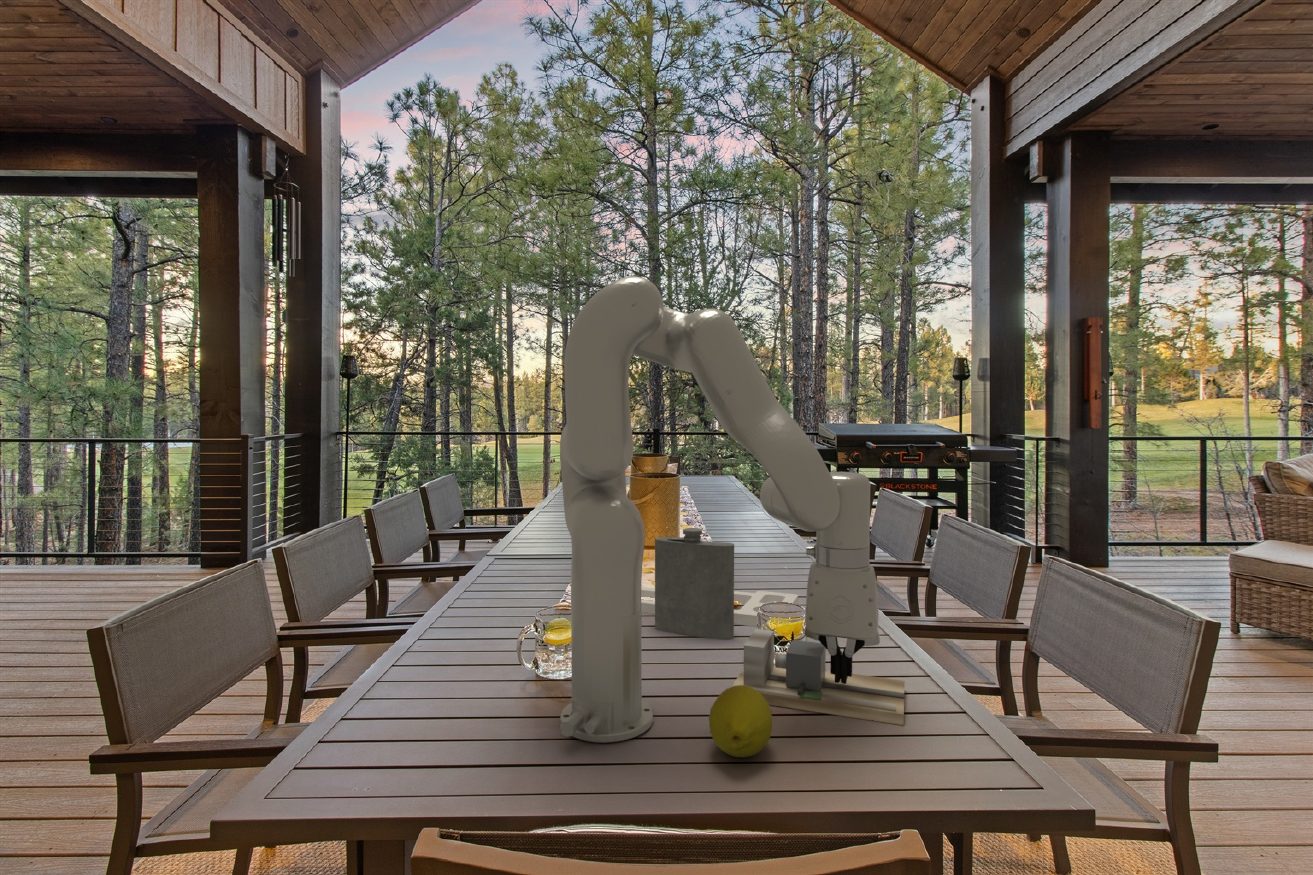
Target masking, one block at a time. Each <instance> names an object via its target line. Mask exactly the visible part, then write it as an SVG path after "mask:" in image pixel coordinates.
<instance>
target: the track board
mask: <svg viewBox="0 0 1313 875" xmlns="http://www.w3.org/2000/svg"><path fill="white" fill-rule="evenodd" d="M739 685H743V686H748V687H751V688H753V689H755V690H756V691H758V692H759V693H760V694H761V695H762V696H763V697H764V698H765V699H766V701H767V702H768V704H769V706H777V707H784V708H789V709H796V710H802V711H806V712H807V711H809V712H815V713H821V714H826V715H827V714H828V715H835V716H842V717H846V718H847V717H848V718H853V719H860V720H867V721H872V720H873V722H881V723H887V724H893V725H899V726H905V725H904V724H905V720H904V719H905V718H904V717H905V685H906V684H905V680H903V679H902V680H901V679H892V678H886V677H879V676H870V675H863V674H856V673H852V677H849V676H848V678H847V682H846V684H842V682H841V680H840V682H839V683H835V675H834V674H831V672H830V670H826V669H825V679H824V682H823V685H822V688H821V691H816V690H809V689H804V691H803V694H802V696H801V695H797V693H798V689H799V688H795V687H788V686H786V669H783V668H776V667H775V630H771V629H768V630H767V629H762V628H761V629H759V628H755V629H754V630H753V632H752V633H751V634H750V635H749V637H748V638H747V640H746V641H745V642H744V644H743V669H742V670H741V671H740V673H739V675H738V676H737V678H736V679H735V681H734V682H733V684H732V686H731V687H733V686H739Z"/></svg>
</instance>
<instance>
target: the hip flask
mask: <svg viewBox="0 0 1313 875" xmlns="http://www.w3.org/2000/svg"><path fill="white" fill-rule="evenodd" d="M682 534H683V535H684V536H683V537H682V536H681V537H679V536H675V537H674V536H671V537H667V536H661V537H659V536H658V537H656V538H654V588H655V614H654V628H655V629H656V630H658V631H661V632H667V633H670V634H676V635H682V636H689V637H694V636H695V637H694V638H704V639H712V640H713V639H714V640H724V641H725V640H732V639H734V638H735V624H734V610H735V604H734V591H735V544H734V543H733V542H725V541H724V542H721V541H720V542H719V541H708V540H707V541H704V540H701V539H702V536H701V535H702V534H703V529H701V528H700V527H699V528H696V527H695V528H694V527H687V528H683V529H682Z"/></svg>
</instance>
